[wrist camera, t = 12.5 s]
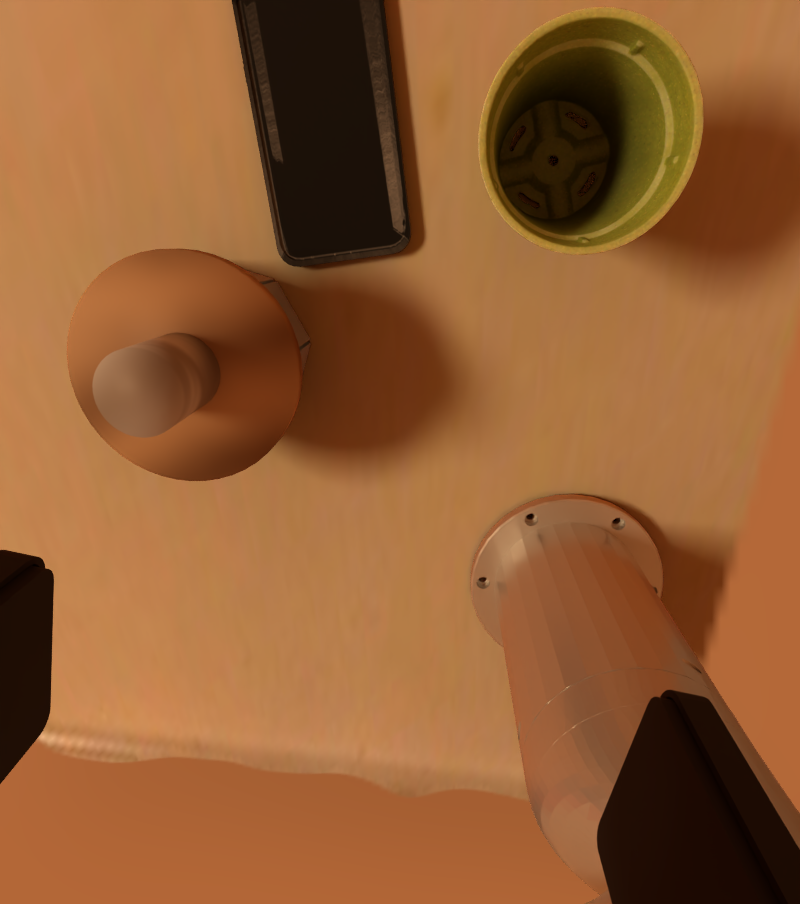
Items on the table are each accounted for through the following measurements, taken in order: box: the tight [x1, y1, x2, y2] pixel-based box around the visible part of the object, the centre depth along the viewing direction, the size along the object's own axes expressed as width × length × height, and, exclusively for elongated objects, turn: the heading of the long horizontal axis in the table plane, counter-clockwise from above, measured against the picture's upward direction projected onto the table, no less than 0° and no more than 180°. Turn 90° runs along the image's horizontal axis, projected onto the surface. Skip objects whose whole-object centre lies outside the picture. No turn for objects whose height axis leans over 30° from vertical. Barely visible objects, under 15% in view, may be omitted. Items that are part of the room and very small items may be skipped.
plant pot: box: [478, 7, 704, 255], centre depth 30 cm, size 9×9×9 cm
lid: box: [67, 249, 303, 481], centre depth 30 cm, size 12×12×6 cm
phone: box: [232, 0, 411, 267], centre depth 34 cm, size 8×1×15 cm
